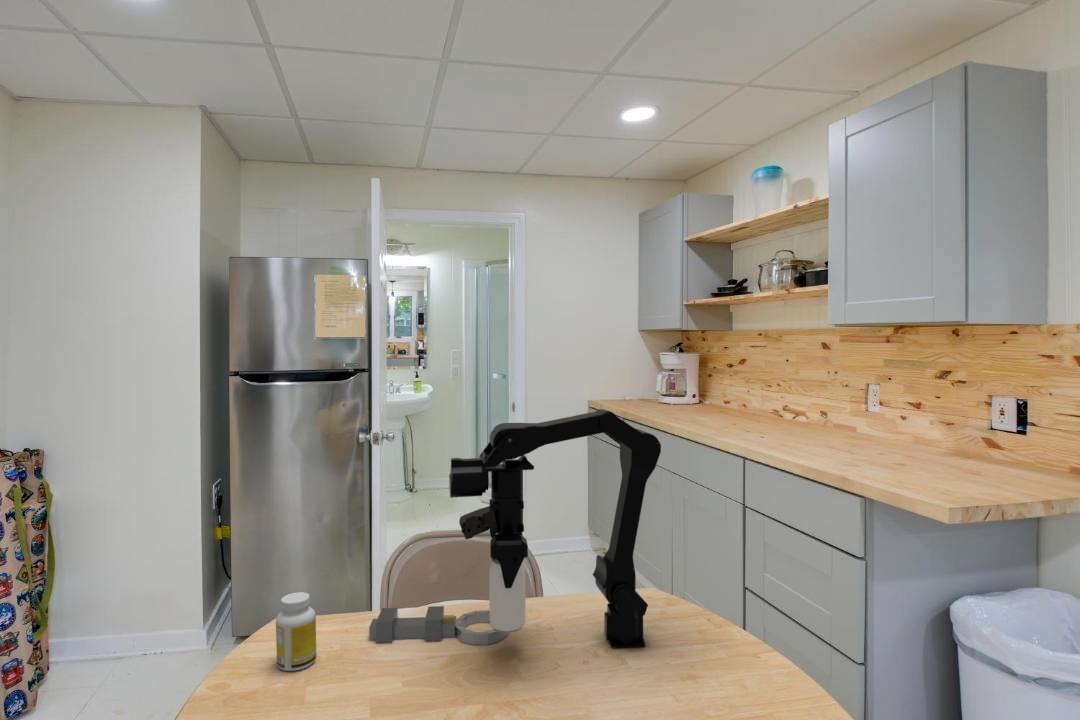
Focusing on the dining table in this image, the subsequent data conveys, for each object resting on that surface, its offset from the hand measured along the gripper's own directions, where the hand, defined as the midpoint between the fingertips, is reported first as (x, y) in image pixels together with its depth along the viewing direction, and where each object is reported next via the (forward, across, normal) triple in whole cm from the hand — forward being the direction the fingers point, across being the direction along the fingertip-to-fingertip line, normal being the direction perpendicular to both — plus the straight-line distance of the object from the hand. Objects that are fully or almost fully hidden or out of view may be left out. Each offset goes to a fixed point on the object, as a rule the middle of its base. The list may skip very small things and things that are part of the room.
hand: (507, 580), depth 110 cm
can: (+8, 0, 0) cm, 8 cm away
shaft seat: (+13, -8, -13) cm, 20 cm away
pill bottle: (+13, 0, -37) cm, 39 cm away
